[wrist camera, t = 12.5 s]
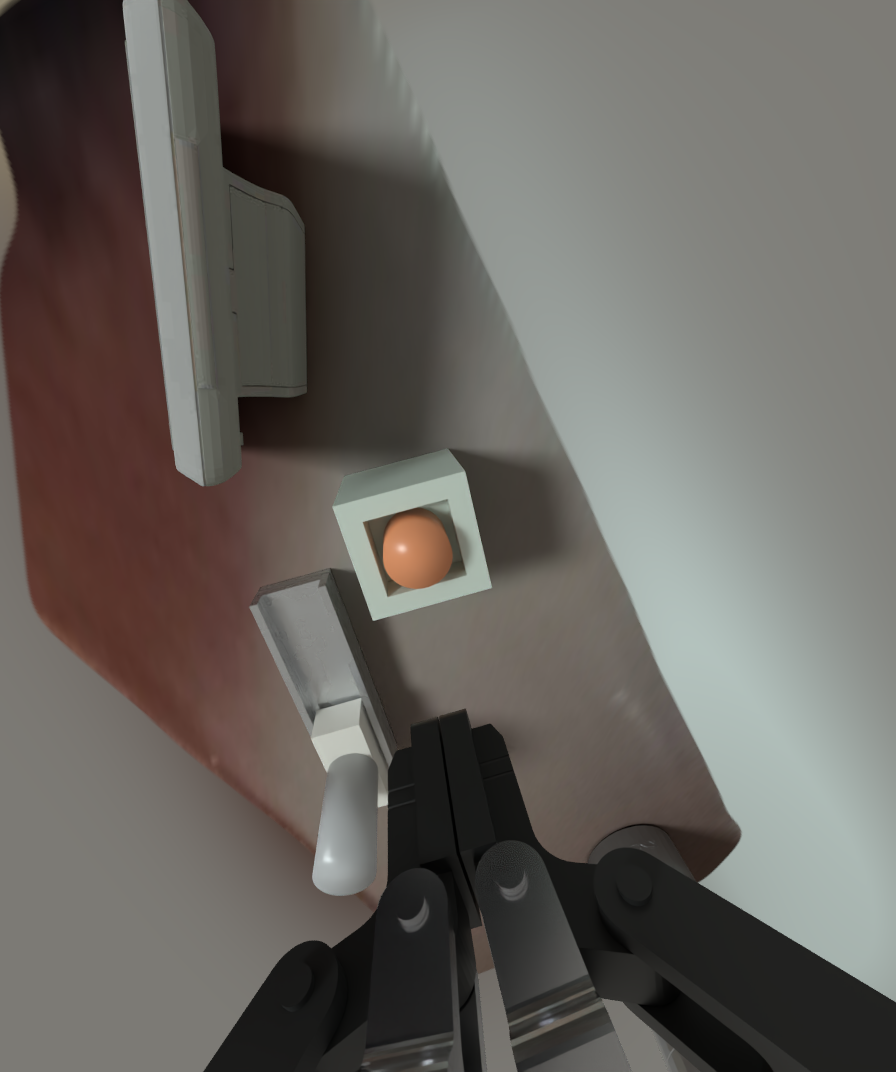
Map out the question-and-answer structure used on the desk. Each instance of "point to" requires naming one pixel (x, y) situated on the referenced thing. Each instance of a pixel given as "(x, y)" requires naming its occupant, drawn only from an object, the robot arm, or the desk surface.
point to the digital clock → (209, 247)
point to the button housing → (397, 489)
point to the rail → (318, 650)
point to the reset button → (416, 549)
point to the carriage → (348, 798)
